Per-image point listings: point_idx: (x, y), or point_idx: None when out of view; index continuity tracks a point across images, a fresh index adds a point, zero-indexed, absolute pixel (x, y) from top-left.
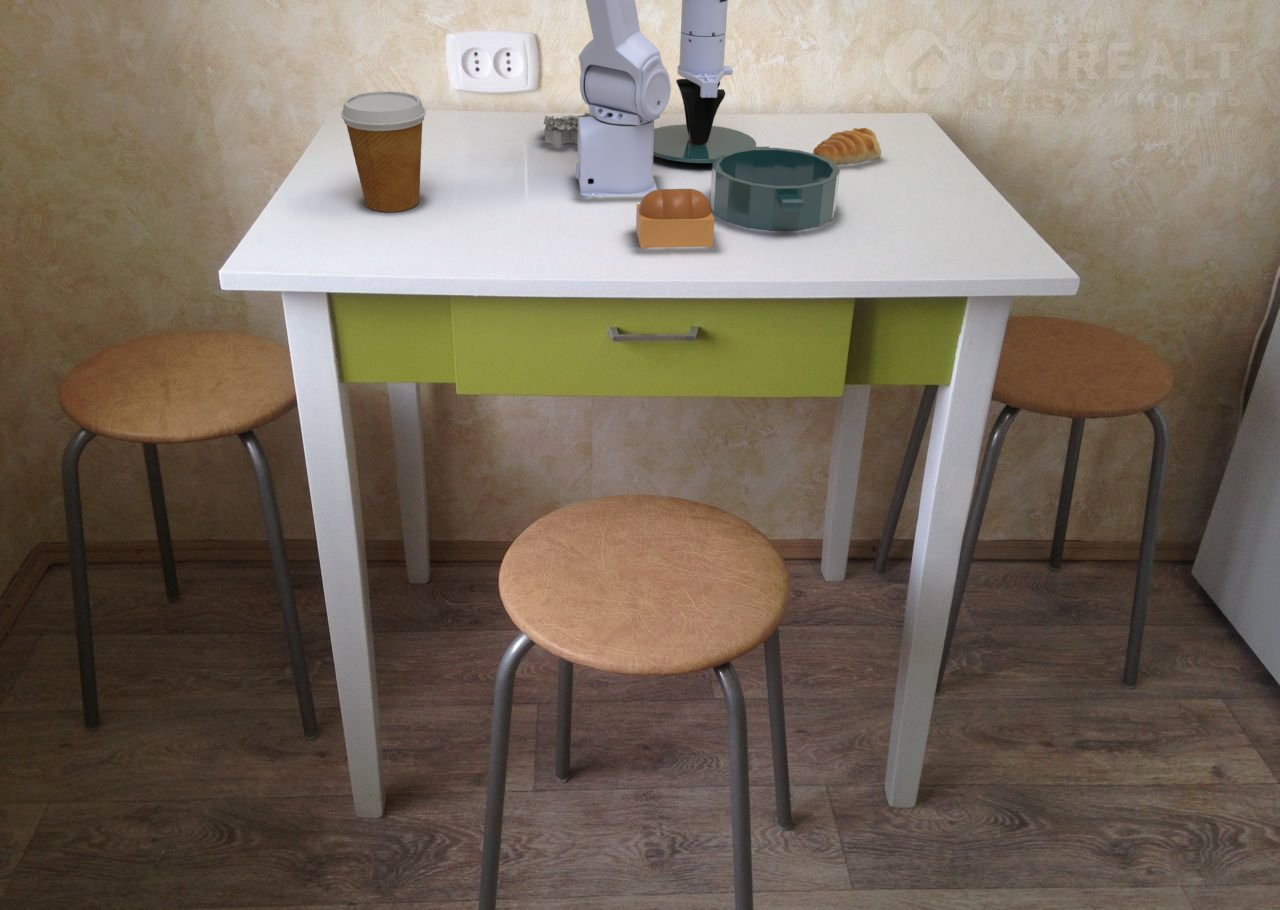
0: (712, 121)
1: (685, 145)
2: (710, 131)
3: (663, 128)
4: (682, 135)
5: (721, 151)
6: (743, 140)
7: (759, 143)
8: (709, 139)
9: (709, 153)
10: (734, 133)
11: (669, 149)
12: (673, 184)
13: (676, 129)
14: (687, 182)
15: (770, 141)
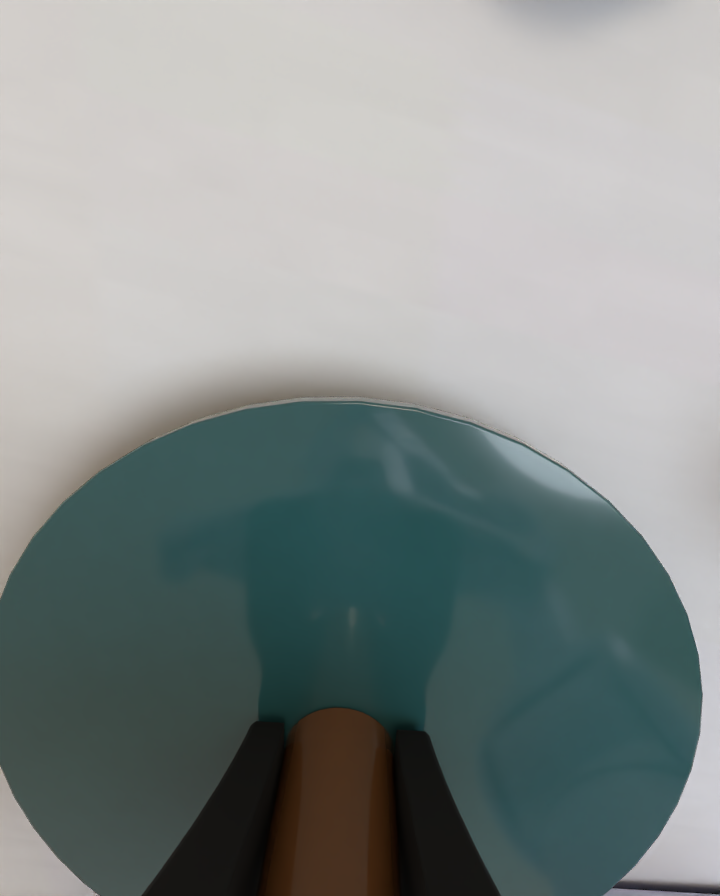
0: (490, 877)
1: None
2: (446, 789)
3: (90, 859)
4: None
5: (565, 668)
6: (347, 485)
7: (79, 275)
8: (311, 684)
9: (591, 737)
10: (172, 507)
11: None
12: (698, 822)
13: (105, 807)
14: (691, 771)
15: (25, 180)
